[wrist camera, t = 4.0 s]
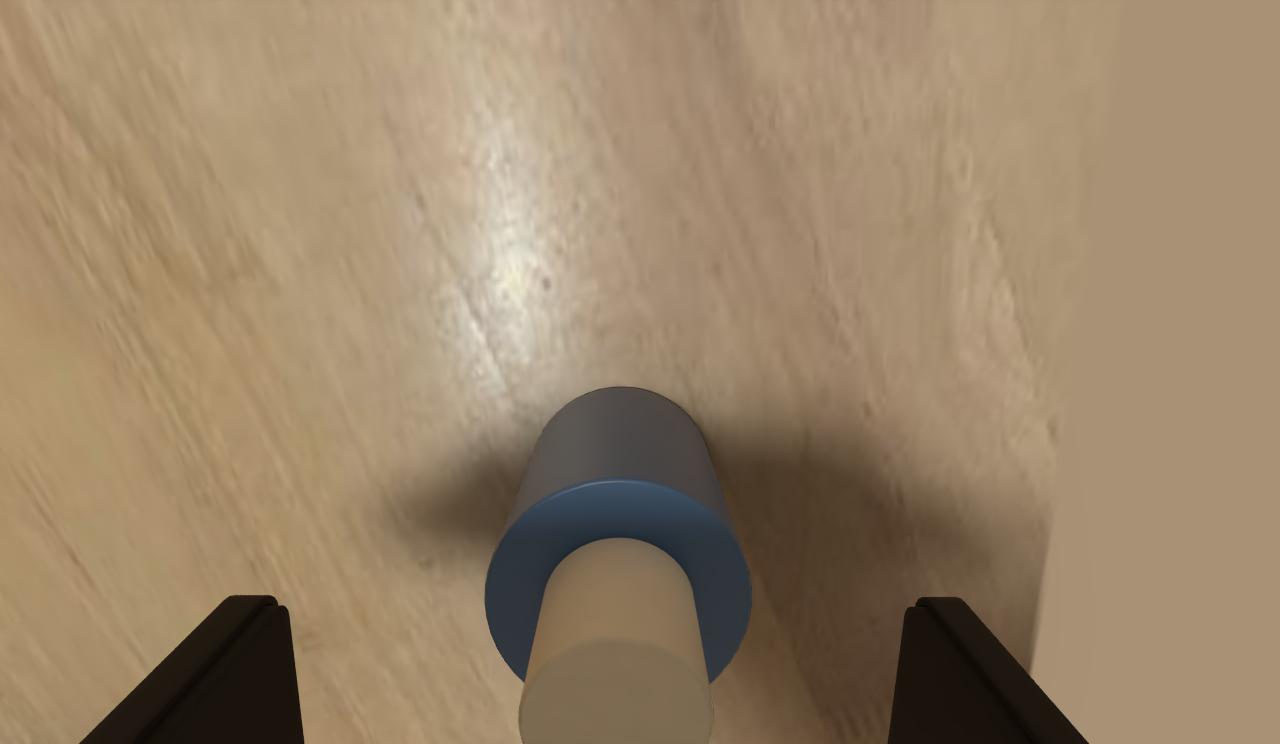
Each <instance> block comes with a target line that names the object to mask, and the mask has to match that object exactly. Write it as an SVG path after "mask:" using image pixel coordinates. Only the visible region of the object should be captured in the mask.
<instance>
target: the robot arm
mask: <svg viewBox="0 0 1280 744" xmlns="http://www.w3.org/2000/svg"><path fill="white" fill-rule="evenodd" d="M79 744H304V735H303V727H302V718H301V710H300V702H299V693H298V685H297V676H296V668H295V659H294V651H293V642H292V634H291V626H290V617H289V612H288V609H287V608H286V607H285V606H278V602H277V600H276V599H275V597H273V596H271V595H233V596H229V597H228V598H226V599H225V600H224V601H223V602H222V603H221V604H220V605H219V606H218V607H217V608H216V609H215V610H214V611H213V612H212V613H211V614H210V615H209V616H208V617H207V618H206V619H205V620H204V621H203V622H202V623H201V624H200V625H199V626H197V627H196V628H195V629H194V630H193V631H192V632H191V633H190V634H189V635H188V636H187V637H186V638H185V639H184V640H183V641H182V642H181V643H180V644H179V645H178V646H177V647H176V648H175V649H174V650H173V651H172V652H171V653H170V654H169V655H168V656H167V657H166V658H165V659H164V660H163V661H162V662H161V663H160V664H159V665H158V666H157V667H156V668H155V669H154V670H153V671H152V672H151V673H150V674H149V675H148V676H147V677H146V678H145V679H144V680H143V681H142V682H141V683H140V684H139V685H138V686H137V687H136V688H135V689H134V690H133V691H132V692H131V693H130V694H129V695H128V696H127V697H126V698H125V699H124V700H123V701H122V702H121V703H120V704H119V705H118V706H117V707H116V708H115V709H114V710H113V711H112V712H111V713H110V714H109V715H108V716H107V717H106V718H105V719H104V720H103V721H101V722H100V723H99V724H98V725H97V726H96V727H95V728H94V729H93V730H92V731H91V732H90V733H89V734H88V735H87V736H86V737H85V738H84V739H83V740H82V741H81V742H80V743H79ZM888 744H1089V743H1088V742H1087V741H1086V740H1085V739H1084V737H1083V736H1082V735H1081V734H1080V733H1079V732H1078V731H1077V729H1075V727H1074V726H1073V725H1072V724H1071V723H1070V721H1069V720H1068V719H1067V718H1066V717H1065V716H1064V715H1063V714H1062V712H1061V711H1060V710H1059V709H1058V708H1057V707H1056V705H1055V704H1054V703H1053V702H1052V701H1051V700H1050V699H1049V698H1048V696H1047V695H1046V694H1045V693H1044V692H1043V691H1042V690H1041V688H1040V687H1039V686H1038V685H1037V684H1036V683H1035V681H1034V680H1033V679H1032V678H1031V677H1030V676H1029V675H1028V674H1027V672H1026V671H1025V670H1024V669H1023V668H1022V667H1021V666H1020V664H1019V663H1018V662H1017V661H1016V660H1015V659H1014V658H1013V656H1012V655H1011V654H1010V653H1009V652H1008V651H1007V650H1006V648H1005V647H1004V646H1003V645H1002V644H1001V643H1000V642H999V640H998V639H997V638H996V637H995V636H994V635H993V634H992V632H991V631H990V630H989V629H988V628H987V627H986V626H985V624H984V623H983V622H982V621H981V620H980V619H979V618H978V616H977V615H976V614H975V613H974V612H973V611H972V610H971V608H970V607H969V606H968V605H967V604H966V603H965V602H964V601H963V600H962V599H961V598H957V597H921V598H919V599H918V601H917V602H916V605H915V607H909V608H907V610H906V612H905V616H904V623H903V631H902V638H901V646H900V654H899V661H898V669H897V676H896V684H895V691H894V699H893V706H892V714H891V722H890V729H889V737H888Z"/></svg>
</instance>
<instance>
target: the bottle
mask: <svg viewBox="0 0 1280 744" xmlns="http://www.w3.org/2000/svg"><path fill="white" fill-rule="evenodd" d="M751 605H752V586H751V579H750V573H749V569H748V566H747V563H746V559H745V556H744V553H743V550H742V547H741V545H740V542H739V539H738V536H737V533H736V530H735V527H734V524H733V521H732V519H731V516H730V513H729V510H728V507H727V504H726V501H725V498H724V495H723V493H722V490H721V487H720V484H719V481H718V478H717V475H716V472H715V469H714V467H713V464H712V461H711V458H710V455H709V452H708V449H707V446H706V443H705V441H704V439H703V437H702V435H701V432H700V431H699V429H698V428H697V426H696V425H695V423H694V422H693V421H692V419H691V418H690V417H689V416H688V415H687V414H686V413H685V412H684V411H683V410H682V409H681V408H679V407H678V406H677V405H675V404H674V403H673V402H671V401H670V400H668V399H666V398H664V397H662V396H660V395H658V394H655V393H652V392H649V391H646V390H642V389H637V388H628V387H614V388H606V389H600V390H596V391H593V392H590V393H587V394H585V395H583V396H581V397H578V398H576V399H575V400H573V401H572V402H570V403H568V404H567V405H566V406H564V407H563V408H562V409H561V410H559V411H558V412H557V413H556V414H555V415H554V417H553V418H552V419H551V420H550V421H549V422H548V424H547V425H546V427H545V428H544V430H543V431H542V433H541V435H540V437H539V439H538V442H537V444H536V447H535V449H534V452H533V454H532V457H531V459H530V462H529V465H528V467H527V470H526V472H525V475H524V477H523V480H522V482H521V485H520V487H519V490H518V493H517V495H516V498H515V500H514V503H513V505H512V508H511V510H510V513H509V515H508V518H507V521H506V523H505V526H504V528H503V531H502V533H501V536H500V538H499V541H498V543H497V546H496V549H495V551H494V554H493V556H492V559H491V562H490V565H489V568H488V572H487V578H486V583H485V610H486V618H487V621H488V625H489V629H490V633H491V635H492V637H493V640H494V642H495V644H496V647H497V649H498V650H499V652H500V654H501V655H502V657H503V659H504V661H505V662H506V663H507V664H508V666H509V667H510V668H511V669H512V671H513V672H514V673H515V674H516V675H517V676H518V677H519V678H520V679H521V680H522V681H523V682H524V688H523V692H522V697H521V702H520V706H519V718H518V721H519V731H520V735H521V739H522V742H523V744H709V741H710V738H711V735H712V731H713V723H714V709H713V703H712V698H711V692H710V686H709V684H710V683H711V682H712V681H714V680H715V679H716V678H717V677H718V676H719V675H720V674H721V673H722V671H723V670H724V669H725V668H726V667H727V665H728V664H729V663H730V662H731V660H732V658H733V657H734V655H735V654H736V652H737V650H738V649H739V646H740V644H741V642H742V640H743V638H744V635H745V633H746V629H747V626H748V622H749V619H750V613H751Z"/></svg>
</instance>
